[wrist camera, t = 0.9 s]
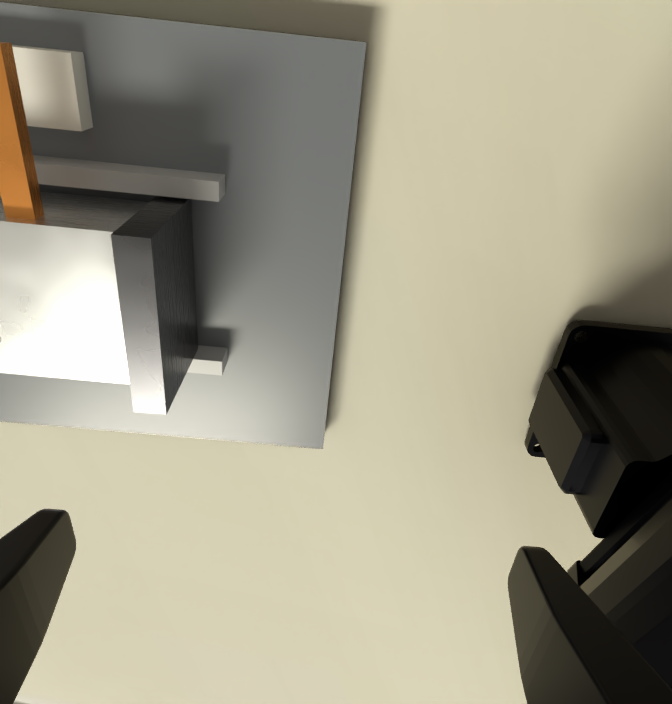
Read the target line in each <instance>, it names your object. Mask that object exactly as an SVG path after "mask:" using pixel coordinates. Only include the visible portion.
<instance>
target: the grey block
mask: <svg viewBox="0 0 672 704" xmlns="http://www.w3.org/2000/svg"><path fill="white" fill-rule="evenodd" d="M197 350H198V333H197V311H196V289H195V267H194V245H193V224H192V202H191V199H185V198H175V197H165V196H156V197H155V198H154V199H152V200H151V201H150V202H145V201H135V200H124V199H114V198H104V197H94V196H84V195H74V194H64V193H54V192H44V191H40V190H39V185H38V179H37V174H36V169H35V164H34V158H33V153H32V148H31V143H30V137H29V132H28V127H27V122H26V116H25V111H24V106H23V101H22V95H21V90H20V85H19V80H18V75H17V69H16V64H15V59H14V54H13V48H12V43H6V42H0V373H8V374H20V375H31V376H42V377H54V378H65V379H76V380H88V381H99V382H110V383H121V384H130V389H131V397H132V405H133V412H138V413H149V414H161V415H167V413H168V411H169V409H170V406H171V404H172V402H173V400H174V398H175V396H176V394H177V392H178V390H179V388H180V386H181V383H182V381H183V379H184V377H185V375H186V373H187V371H188V369H189V367H190V365H191V363H192V360H193V358H194V356H195V354H196V352H197Z"/></svg>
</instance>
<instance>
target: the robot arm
mask: <svg viewBox="0 0 672 704" xmlns="http://www.w3.org/2000/svg"><path fill="white" fill-rule="evenodd" d="M580 331H584V333H583V335H582V336H580V337H577V338H575V335H576V334H577V333H578V332H580ZM529 423H530V425H531V426H530V428H529V431H528V434H527V437H526V439H525V446H526V449H527V451H528V453H529V454H530V455H531V456H535V457H545V458H546V460H547V462H548V464H549V466H550V468H551V470H552V472H553V475H554V477H555V479H556V481H557V483H558V485H559V487H560V488H561V490H562V491H563V492H564V493H565V494H573V495H574V497H575V499H576V501H577V503H578V505H579V507H580V509H581V511H582V513H583V515H584V517H585V519H586V521H587V523H588V525H589V527H590V529H591V531H592V534H593V535H594V536H595V537H597V538H604V539H603V540H602V541H601V542H600V543H599V544H598V545H597V546H596V547H595V548H594V549H593V550H592V551H591V552H590V553H589V554H588V555H587V556H586V557H585V558H584V559H583V560H582V561H579V560H578V561H576V562H575V563H574V564H573V565H572V566H571V567H570V568H569V569H568V572H566V571H565V570H564V569H563V568H562V566H561V565H560V564H559V563H558V562H557V561H556V560H555V559H554V558H553V556H552V555H551V554H550V553H549V552H548V551H547V550H545V549H544V548H541V547H531V546H522V547H521V548H519V550H518V552H517V555H516V557H515V560H514V563H513V565H512V568H511V570H510V573H509V577H508V591H509V598H510V605H511V612H512V619H513V626H514V633H515V640H516V647H517V654H518V661H519V667H520V673H521V679H522V683H523V688H524V692H525V696H526V700H527V704H672V329H669V328H658V327H648V326H637V325H627V324H616V323H605V322H595V321H584V320H579V321H575V322H572V323H571V324H569V325H568V326H567V328H566V329H565V331H564V334H563V337H562V340H561V342H560V345H559V348H558V351H557V353H556V356H555V359H554V362H553V365H552V367H551V369H549V370H548V371H547V372H546V373H545V375H544V378H543V381H542V383H541V386H540V389H539V392H538V395H537V397H536V400H535V403H534V406H533V409H532V412H531V414H530V417H529ZM536 444H539V446H535V445H536ZM75 550H76V539H75V535H74V531H73V527H72V523H71V520H70V516H69V514H68V512H67V511H65V510H57V509H42V510H40V511H38V512H37V513H35V514H34V515H33V516H31V517H30V518H28V519H27V520H26V521H24V522H23V523H21V524H20V525H19V526H17V527H16V528H15V529H13V530H12V531H10V532H9V533H8V534H6V535H5V536H3V537H2V538H1V539H0V704H13V703H14V700H15V698H16V696H17V694H18V692H19V690H20V688H21V686H22V684H23V682H24V680H25V678H26V676H27V674H28V672H29V669H30V667H31V665H32V663H33V661H34V659H35V657H36V655H37V653H38V650H39V648H40V646H41V644H42V642H43V639H44V636H45V634H46V631H47V629H48V626H49V623H50V621H51V618H52V615H53V612H54V610H55V607H56V604H57V601H58V599H59V596H60V593H61V590H62V588H63V585H64V582H65V579H66V577H67V574H68V571H69V568H70V566H71V563H72V560H73V557H74V554H75Z"/></svg>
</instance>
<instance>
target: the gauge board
mask: <svg viewBox="0 0 672 704" xmlns="http://www.w3.org/2000/svg"><path fill="white" fill-rule="evenodd" d="M0 42H6V43H12V48H13V54H14V59H15V64H16V69H17V75H18V80H19V85H20V90H21V95H22V101H23V106H24V111H25V116H26V122H27V127H28V132H29V137H30V143H31V148H32V153H33V158H34V164H35V169H36V174H37V179H38V185H39V190H40V191H44V192H54V193H64V194H74V195H84V196H94V197H104V198H114V199H124V200H135V201H145V202H150V201H151V200H152V199H154V198H155V197H156V196H165V197H175V198H185V199H191V202H192V224H193V245H194V267H195V289H196V311H197V333H198V350H197V352H196V354H195V356H194V358H193V360H192V363H191V365H190V367H189V369H188V371H187V373H186V375H185V377H184V379H183V381H182V383H181V386H180V388H179V390H178V392H177V394H176V396H175V398H174V400H173V402H172V404H171V406H170V409H169V411H168V413H167V415H161V414H149V413H138V412H133V405H132V397H131V389H130V384H121V383H110V382H99V381H88V380H76V379H65V378H54V377H42V376H31V375H20V374H8V373H0V422H11V423H23V424H35V425H46V426H58V427H70V428H81V429H93V430H105V431H116V432H128V433H140V434H152V435H163V436H175V437H187V438H198V439H210V440H222V441H233V442H245V443H257V444H268V445H280V446H292V447H304V448H315V449H323V443H324V434H325V425H326V415H327V406H328V397H329V387H330V378H331V369H332V359H333V350H334V341H335V331H336V322H337V313H338V303H339V294H340V285H341V275H342V266H343V257H344V247H345V238H346V228H347V219H348V210H349V200H350V191H351V182H352V172H353V163H354V154H355V144H356V135H357V126H358V116H359V107H360V98H361V88H362V79H363V70H364V60H365V51H366V42H361V41H352V40H343V39H334V38H325V37H316V36H307V35H297V34H288V33H279V32H270V31H261V30H252V29H243V28H234V27H225V26H215V25H206V24H197V23H188V22H179V21H170V20H161V19H152V18H143V17H133V16H124V15H115V14H106V13H97V12H88V11H79V10H70V9H61V8H51V7H42V6H33V5H24V4H15V3H6V2H0Z"/></svg>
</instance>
